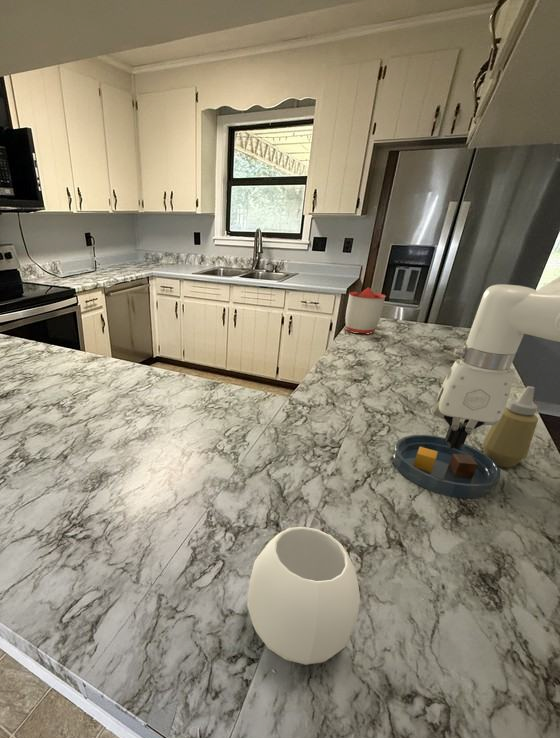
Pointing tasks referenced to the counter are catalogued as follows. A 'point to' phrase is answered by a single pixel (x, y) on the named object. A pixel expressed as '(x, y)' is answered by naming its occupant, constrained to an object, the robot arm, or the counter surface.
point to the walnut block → (462, 466)
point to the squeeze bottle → (512, 431)
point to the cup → (304, 595)
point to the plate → (445, 467)
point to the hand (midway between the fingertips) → (452, 445)
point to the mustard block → (425, 459)
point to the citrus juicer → (364, 311)
